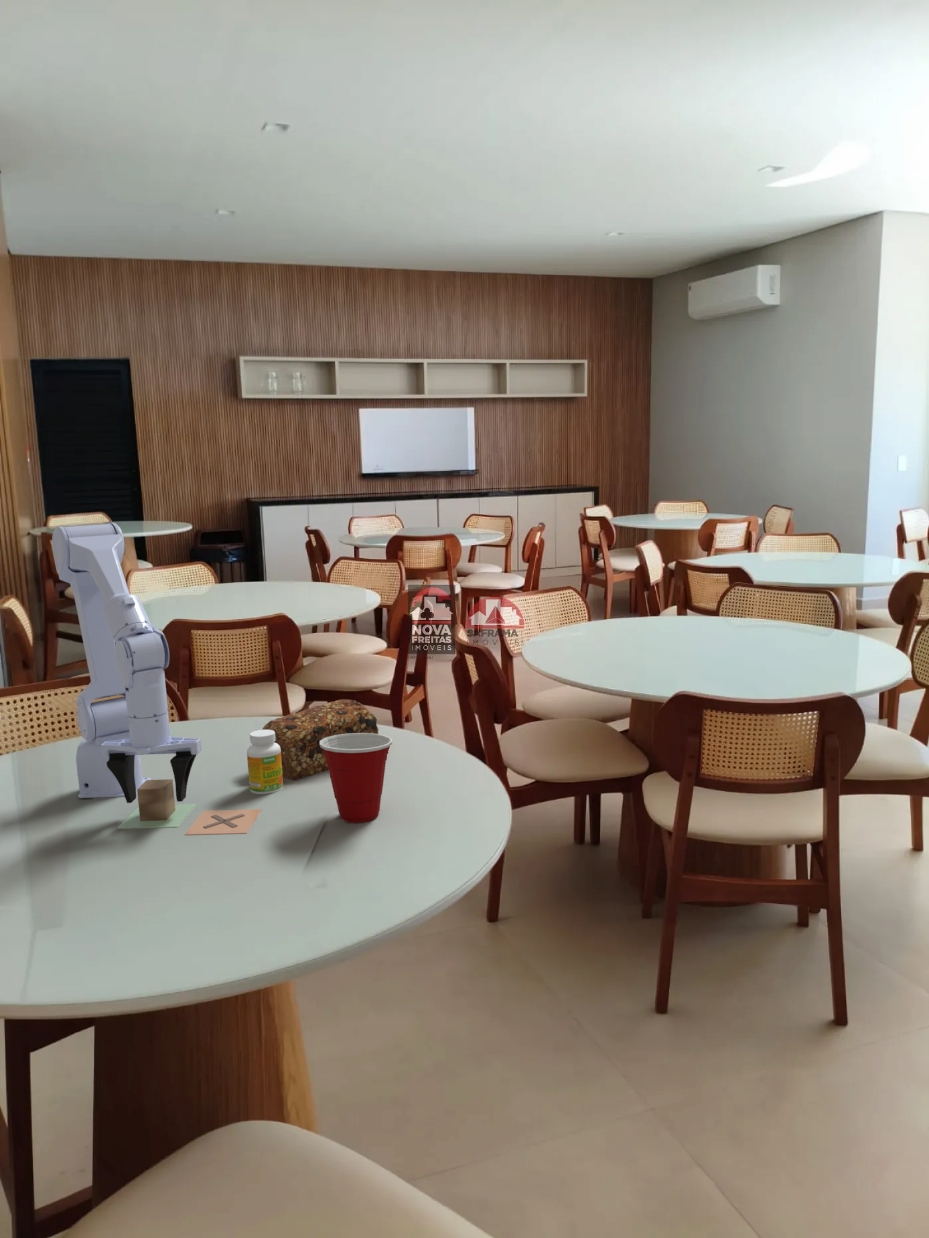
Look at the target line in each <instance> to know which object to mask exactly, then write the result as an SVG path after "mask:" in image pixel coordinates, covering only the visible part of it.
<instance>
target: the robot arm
mask: <svg viewBox="0 0 929 1238" xmlns="http://www.w3.org/2000/svg"><path fill="white" fill-rule="evenodd" d="M51 538H52V539H51V541H52V544H51V545H52V547H51V548H52V549H51V550H52V553H53V559H54V564H55V569H56V572H57V574H58V579H59V580H60V581H62V582H65V583H68V584H70V588H71V590H72V594H73V597H74V603H75V607H76V608H75V609H76V611H77V616H78V622H79V628H80V632H81V638H82V642H83V648H84V653H85V659H86V663H87V668H88V674H89V677H90V682H89V684H87V686H86V687H85V688H83V690H82V691H80V693H79V694H78V695H77V698H76V701H75V703H76V710H77V711H76V719H77V726H78V729H79V733H80V735H81V738H83V740H81V741H80V743H79V744H78V746H77V749H76V754H75V755H76V756H75V757H76V758H75V761H76V772H77V779H78V789H79V794H78V795H77V798H78V799H93V798H117V797H118V798H120V797H123V798H125V802H126V803H127V804H132V803H133V802H134V801H135V800H136V799H137V796H138V794H137V789H138V788H139V787H140V786H141V785H142V784H143V783H144V782H145V781H146V780H153V779H152V778H151V777H143V770H142V762H141V761H142V760H141V759H142V758H141V755H143V756H144V755H170V754H171V755H174V756H173V757H172V758H171V759H170V760H169V761H170V762H169V763H170V766H171V769H172V772H173V777H174V785H175V786H174V787H175V797H176V802H177V803H179V802H181V803H182V802H183V801H184V800H185V798H186V797H187V787H188V782H189V778H190V777H189V776H190V773H191V770H192V766H193V764H194V762H195V760H196V756H197V755H199V753H201V752H202V750H203V749H202V739H201V738H200V737H199V738H194V737H192V738H191V737H183V736H181V737H180V736H172V735H171V727H170V719H169V707H168V697H167V688H166V674H165V670H164V669H167V668H168V667H169V664H170V649H169V644H168V641H167V638H166V635H165V634H164V633H163V631H162V630H159V628H158V627H157V626H156V625H154V626H153V624H152V622H151V621H150V618H149V616H148V613H147V612H146V609H145V607H144V605H143V603H142V600H141V599H140V598H139V596H137V595H136V594H131V593H130V590H129V588H128V584H127V582H126V578H125V575H124V572H123V570H122V569H123V568H122V565H121V564H122V562H123V556H124V553H125V538H124V535H123V531H122V529H121V527H120V526H119V525H118V524H117V523H116V522H110V523H109V522H108V523H104V524H92V525H91V524H89V525H88V524H87V525H76V526H75V525H72V526H61V525H59V526H56V528H54V530H53V532H52V537H51ZM115 696H119V697H115ZM120 696H121V697H120ZM110 697H111V698H110ZM112 697H114V698H112ZM105 698H108V699H106V700H105ZM99 699H104V700H100V701H99ZM94 700H98V701H94ZM93 701H94V702H93Z"/></svg>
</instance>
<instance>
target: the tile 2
mask: <svg viewBox="0 0 929 1238" xmlns="http://www.w3.org/2000/svg"><path fill="white" fill-rule="evenodd" d="M262 811H263V810H262V809H261V808H258V809H227V810H226V809H223V810H221V809H220V810H218V809H217V810H215V809H214V810H202V812H201V814H200V815H199V816H198V817H197V818H196V819H195V821H194V822H193V823H192V825H190V827H189V828H188V829H187V831H186V832H185V833H184V836H201V835H202V836H203V835H236V834H237V835H240V834H241V835H243V834H244V835H245V834H248V832H249V831H250V829H251V827H252V826H253V825H254V823H255V822H256V820H257V818H258V817H259V816H260V813H261V812H262Z"/></svg>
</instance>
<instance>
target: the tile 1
mask: <svg viewBox="0 0 929 1238" xmlns="http://www.w3.org/2000/svg"><path fill="white" fill-rule="evenodd" d="M196 806H197V803H188V804H187V803H186V804H185V803H183V804H182V803H181V804H180V803H179V804H177V803H175V811H174V813H173V814H172V815H171V816H170V817H169V818H168V819H167V820H161V821H140V814H139V806H138V807H137V808H135V810H134V811H133V812H132V813H131V814H130V815H129V816H128V817H127V818H126V819H125V820H124V821H123V822H122V823H120V825H119V826H117V827H116V829H117V830H125V829H126V830H128V829H130V830H131V829H162V828H163V829H165V828H166V829H168V828H179V826H180V825H181V824H182V822H184V820H186V818H187V817H188V815H189V814H190V813H191V812H192V811H193V810H194V808H196Z"/></svg>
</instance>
